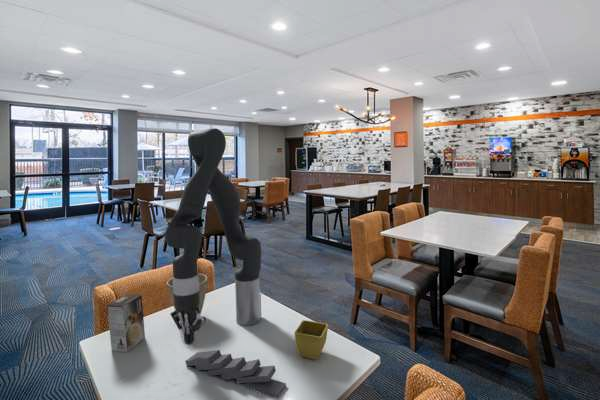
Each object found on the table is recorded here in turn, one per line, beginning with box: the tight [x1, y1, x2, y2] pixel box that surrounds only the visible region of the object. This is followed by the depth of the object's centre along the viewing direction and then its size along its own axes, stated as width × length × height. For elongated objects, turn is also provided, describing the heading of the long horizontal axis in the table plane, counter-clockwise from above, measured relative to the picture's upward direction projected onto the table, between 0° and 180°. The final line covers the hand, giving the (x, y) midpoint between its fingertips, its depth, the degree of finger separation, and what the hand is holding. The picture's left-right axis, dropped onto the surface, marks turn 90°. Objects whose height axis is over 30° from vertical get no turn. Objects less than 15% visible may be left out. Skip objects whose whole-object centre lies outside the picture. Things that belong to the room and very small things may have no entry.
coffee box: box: [106, 293, 146, 353], centre depth 113 cm, size 9×6×16 cm
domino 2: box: [195, 353, 233, 371], centre depth 100 cm, size 5×2×10 cm
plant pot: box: [166, 273, 208, 316], centre depth 132 cm, size 15×15×16 cm
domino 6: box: [244, 378, 287, 399], centre depth 92 cm, size 5×2×10 cm
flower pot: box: [294, 319, 329, 361], centre depth 107 cm, size 9×9×9 cm
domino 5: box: [235, 365, 277, 384], centre depth 94 cm, size 5×2×10 cm
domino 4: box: [221, 359, 262, 381], centre depth 96 cm, size 5×2×10 cm
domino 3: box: [207, 356, 247, 377], centre depth 97 cm, size 5×2×10 cm
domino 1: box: [184, 349, 222, 367], centre depth 102 cm, size 5×2×10 cm
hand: (189, 343), depth 103 cm, fingers closed
